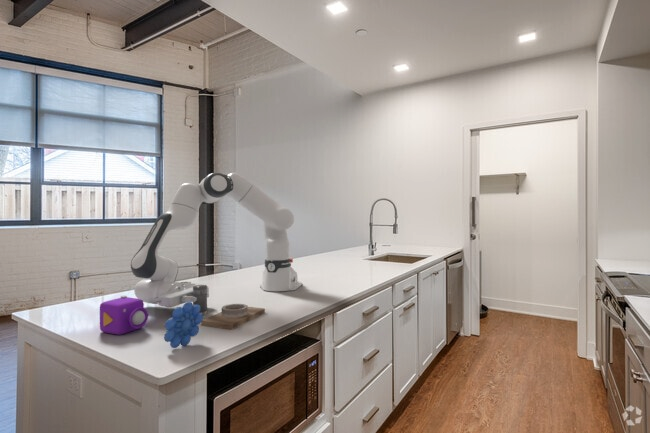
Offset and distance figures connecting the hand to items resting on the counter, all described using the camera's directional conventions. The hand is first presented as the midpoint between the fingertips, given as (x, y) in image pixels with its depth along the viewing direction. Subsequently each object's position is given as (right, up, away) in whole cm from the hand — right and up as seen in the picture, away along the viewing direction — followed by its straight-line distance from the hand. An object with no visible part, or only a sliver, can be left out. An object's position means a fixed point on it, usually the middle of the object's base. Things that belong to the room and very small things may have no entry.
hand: (202, 297), depth 131 cm
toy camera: (-18, -7, -18) cm, 26 cm away
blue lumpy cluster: (+5, -7, -30) cm, 31 cm away
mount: (+13, -6, -5) cm, 15 cm away
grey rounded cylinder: (-1, -6, 0) cm, 6 cm away
